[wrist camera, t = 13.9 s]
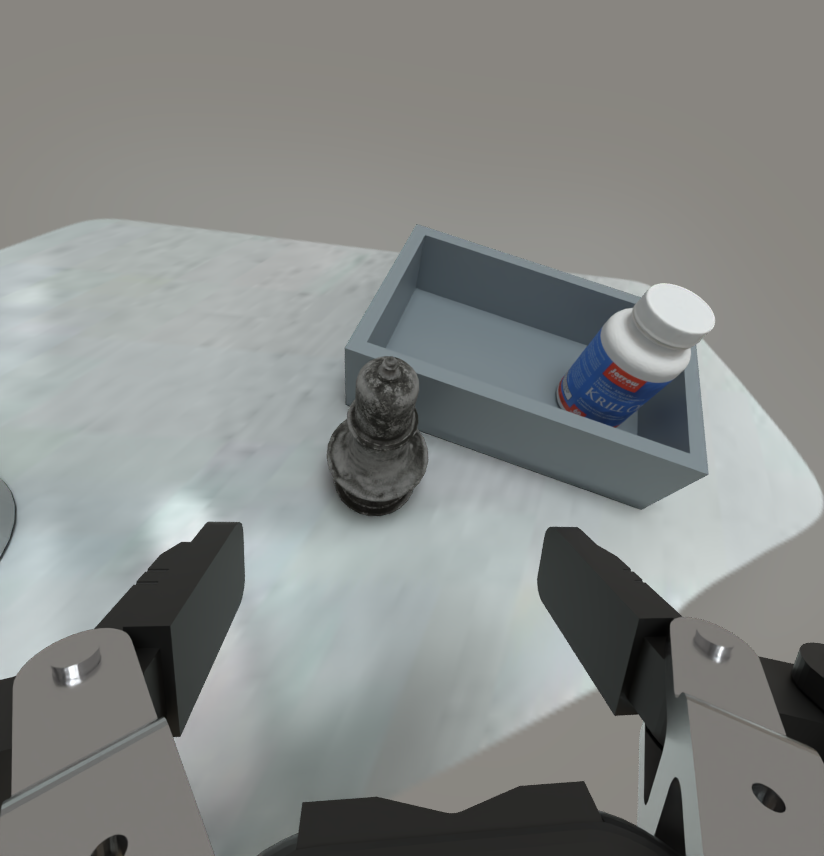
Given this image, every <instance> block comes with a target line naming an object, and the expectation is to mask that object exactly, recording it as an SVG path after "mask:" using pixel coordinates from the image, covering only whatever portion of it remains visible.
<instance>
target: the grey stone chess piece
mask: <svg viewBox="0 0 824 856" xmlns="http://www.w3.org/2000/svg"><path fill="white" fill-rule="evenodd" d="M418 393H419V379H418V376H417V374H416V372H415V371H414V369H413V368H412V367H411V366H410V365H409V364H408V363H406V362H405V361H403V360H401V359H400V358H396V357H393V356H383V357H378V358H376V359H373V360H371V361H369V362H368V363H366V364H365V365H364V366H363V367H362V368H361V370H360V372H359V374H358V376H357V379H356V391H355V400H354V401H353V402H352V404H351V405H350V408H349V410H348V414H347V419H346V420H345V421H344V422H342V423H341V424H340V425H339V426H338V427H337V429H336V430H335V431H334V433H333V434H332V436H331V439H330V441H329V444H328V450H327V461H328V465H329V470H330V472H331V474H332V475H333V477H334V482H335V486H336V491H337V493H338V495H339V496H340V498H341V500H342V501H343V502H344V503H345V504H346V505H347V506H348V507H349V508H351V509H352V510H354V511H356V512H358V513H360V514H364V515H368V516H382V515H386V514H390V513H392V512H394V511H396V510H398V509H399V508H401V507H402V506H403V505H404V504H405V503H406V502H407V501H408V499H409V497H410V496H411V494H412V492H413V489H414V488H415V487H416V486H417V485H418V484H419V482H420V481H421V479H422V477H423V476H424V474H425V472H426V468H427V463H428V448H427V446H426V443H425V440H424V437H423V436H422V434H421V433H420V431H419V430H418V429H417V427H418V413H417V410H416V408H415V404H416V401H417V397H418Z"/></svg>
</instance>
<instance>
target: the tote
mask: <svg viewBox="0 0 824 856" xmlns="http://www.w3.org/2000/svg"><path fill="white" fill-rule="evenodd" d="M640 298H641V297H638V296H635V295H632V294H629V293H626V292H623V291H620V290H617V289H614V288H611V287H608V286H605V285H602V284H599V283H596V282H593V281H589V280H586V279H583V278H580V277H577V276H574V275H571V274H568V273H565V272H562V271H559V270H556V269H553V268H550V267H547V266H543V265H541V264H537V263H534V262H531V261H528V260H525V259H522V258H519V257H516V256H513V255H510V254H506V253H504V252H501V251H497V250H495V249H492V248H489V247H485V246H482V245H479V244H476V243H473V242H470V241H467V240H464V239H461V238H458V237H455V236H452V235H449V234H446V233H443V232H440V231H437V230H434V229H431V228H428V227H424V226H421V225H418V224H416V226H415V228H414V230H413V231H412V233H411V235H410V237H409V238H408V240H407V242H406V243H405V245H404V247H403V249H402V250H401V252H400V254H399V255H398V257H397V259H396V261H395V262H394V264H393V266H392V267H391V269H390V271H389V273H388V274H387V276H386V278H385V280H384V281H383V283H382V285H381V286H380V288H379V290H378V292H377V293H376V295H375V297H374V298H373V300H372V302H371V304H370V305H369V307H368V309H367V311H366V312H365V314H364V316H363V317H362V319H361V321H360V323H359V324H358V326H357V328H356V329H355V331H354V333H353V335H352V336H351V338H350V340H349V342H348V343H347V345H346V347H345V391H346V405H349V406H350V405H351V404H352V402H353V401H354V400H355V391H356V379H357V376H358V374H359V372H360V370H361V368H362V367H363V366H364V365H365V364H366V363H368V362H369V361H371V360H373V359H376V358H378V357H383V356H393V357H396V358H400V359H401V360H403V361H405V362H406V363H408V364H409V365H410V366H411V367H412V368H413V369H414V371H415V372H416V374H417V376H418V379H419V393H418V397H417V401H416V404H415V408H416V410H417V413H418V427H417V429H418V430H419V431H422V432H425V433H428V434H430V435H433V436H436V437H439V438H442V439H444V440H447V441H450V442H453V443H456V444H458V445H461V446H464V447H467V448H470V449H472V450H475V451H478V452H481V453H484V454H487V455H489V456H492V457H495V458H498V459H501V460H503V461H506V462H509V463H512V464H515V465H517V466H520V467H523V468H526V469H529V470H532V471H534V472H537V473H540V474H543V475H546V476H548V477H551V478H554V479H557V480H560V481H562V482H565V483H568V484H571V485H574V486H577V487H579V488H582V489H585V490H588V491H591V492H593V493H596V494H599V495H602V496H605V497H607V498H610V499H613V500H616V501H619V502H622V503H624V504H627V505H630V506H633V507H636V508H638V509H641V510H642V509H643V508H645V507H647V506H649V505H651V504H653V503H655V502H657V501H659V500H661V499H663V498H665V497H666V496H668V495H670V494H672V493H674V492H676V491H678V490H680V489H682V488H684V487H686V486H687V485H689V484H691V483H693V482H695V481H697V480H699V479H701V478H703V477H705V476H707V475H708V464H707V453H706V443H705V432H704V422H703V411H702V401H701V390H700V380H699V370H698V359H697V349H696V345H695V346H693V347H691V357H690V361H689V363H688V365H687V367H686V368H685V369H684V371H682V372H681V373H680V374H679V375H678V376H677V377H676V378H675V379H674V380H672V381H671V382H670V383H669V384H668V385H666V386H665V387H664V388H663V389H662V390H660V391H659V392H658V393H657V394H656V395H655V396H653V397H652V398H651V399H650V400H649V401H647V402H646V403H645V404H644V405H643V406H641V407H640V408H639V409H638V410H637V411H636V412H634V413H633V414H632V415H631V416H630V417H629V418H627V419H626V420H625V421H624V422H623V423H621V424H620V425H619V426H617V427H616V428H614V427H611V426H608V425H606V424H603V423H600V422H597V421H594V420H591V419H588V418H585V417H582V416H579V415H577V414H574V413H571V412H568V411H565V410H562V409H561V408H560V406H559V404H558V401H557V387H558V385H559V383H560V381H561V379H562V378H563V377H564V375H565V374H566V373H567V371H568V370H569V369H570V368H571V366H572V365H573V364H574V362H575V361H576V360H577V359H578V357H579V356H580V355H581V353H582V352H583V351H584V350H585V348H586V347H587V346H588V344H589V343H590V342H591V341H592V339H593V338H594V337H595V336H596V334H597V333H598V332H599V330H600V329H601V328H602V327H603V325H604V324H605V323H606V322H607V321H608V319H609V318H610V317H611V316H612V315H614V314H615V313H617V312H619V311H621V310H624V309H628V308H633V307H634V305H635V304H636V303H637V302H638V301H639V300H640Z"/></svg>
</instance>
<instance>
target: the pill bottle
mask: <svg viewBox="0 0 824 856" xmlns="http://www.w3.org/2000/svg"><path fill="white" fill-rule="evenodd" d="M714 324H715V317H714V314H713V312H712V310H711V309H710V307H709V306H708V305H707V304H706V303H705V302H704V301H703V300H702V299H701V298H700V297H699V296H697V295H696V294H694V293H693V292H691V291H689V290H687V289H685V288H683V287H680V286H677V285H674V284H666V283H665V284H664V283H662V284H656V285H653V286H652V287H650V288H649V289H648V290H647V291H646V293H645V294H644V295H643V296H642V297H641V298H640V300H639V301H638V302H637V303H636V304H635V305H634V307H633V308H628V309H624V310H621V311H619V312H617V313H615V314H614V315H612V316H611V317H610V318H609V319H608V321H607V322H606V323H605V324H604V325H603V327H602V328H601V329H600V330H599V332H598V333H597V334H596V336H595V337H594V338H593V339H592V341H591V342H590V343H589V344H588V346H587V347H586V348H585V350H584V351H583V352H582V353H581V355H580V356H579V357H578V359H577V360H576V361H575V362H574V364H573V365H572V366H571V368H570V369H569V370H568V371H567V373H566V374H565V375H564V377H563V378H562V379H561V381H560V383H559V385H558V387H557V401H558V404H559V406H560V408H561V409H562V410H565V411H568V412H571V413H574V414H577V415H579V416H582V417H585V418H588V419H591V420H594V421H597V422H600V423H603V424H606V425H608V426H611V427H614V428H616V427H617V426H619V425H620V424H621V423H623V422H624V421H625V420H626V419H627V418H629V417H630V416H631V415H632V414H633V413H634V412H636V411H637V410H638V409H639V408H640V407H641V406H643V405H644V404H645V403H646V402H647V401H649V400H650V399H651V398H652V397H653V396H655V395H656V394H657V393H658V392H659V391H660V390H662V389H663V388H664V387H665V386H666V385H668V384H669V383H670V382H671V381H672V380H674V379H675V378H676V377H677V376H678V375H679V374H680V373H681V372H682V371H684V369H685V368H686V367H687V365H688V363H689V361H690V357H691V347H693V346H695V345H696V344H698V343H699V342H700V340H701V339H702V338H703V337H705V336H706V335H707V334H708V333H709V332H710V331H711V330H712V329H713V327H714Z"/></svg>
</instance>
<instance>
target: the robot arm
mask: <svg viewBox="0 0 824 856" xmlns="http://www.w3.org/2000/svg"><path fill="white" fill-rule="evenodd" d="M14 519H15V504H14V501H13V498H12V494H11V491H10V490H9V489H8V487H7V486H6V484H5V483H4V482H3V480H1V479H0V556H1V554H2V552H3V550H4V548H5V546H6V545H7V543H8V541H9V539H10V535H11V532H12V528H13V525H14ZM244 583H245V568H244V538H243V527H242V524H241V523H240V522H207V523H206V524H205V525H204V527H203V528H202V529H201V530H200V531H199V533H198V534H197V535H196V536H195V538H194V539H193V540H192V541H191V542H181V543H179V544H177V545H176V546H174V547H172V548H171V549H169V550H167V551H166V552H164V553H162V554H161V555H160V556H159V557H158V558H157V559H156V560H155V562H154V563H153V564H152V565H151V566H150V567H149V568H148V571H147V572H145V573H144V574H143V575H142V576H141V577H140V578H139V579H138V581H137V583H136V585H133V586H132V587H131V588H130V589H129V591H128V592H127V593H126V594H125V595H124V596H123V597H122V598H121V600H120V601H119V602H118V603H117V604H116V605H115V606H114V607H113V608H112V610H111V611H110V612H109V613H108V614H107V615H106V616H105V617H104V619H103V620H102V621H101V622H100V623H99V624H98V625H97V626H96V627H95V629H92V630H87V631H83V632H80V633H77V634H74V635H71V636H68V637H66V638H63V639H61V640H59V641H57V642H55V643H53V644H51V645H50V646H48V647H46V648H45V649H43V650H42V651H40V652H39V653H37V654H36V655H35V656H34V657H32V658H31V659H30V660H29V661H28V662H27V663H26V664H25V665H24V666H23V667H22V668H21V670H20V671H19V672H18V674H17V676H14V677H11V678H7V679H3V680H0V856H215V855H214V852H213V849H212V846H211V844H210V841H209V838H208V835H207V832H206V830H205V827H204V824H203V821H202V818H201V815H200V813H199V810H198V807H197V804H196V801H195V798H194V796H193V793H192V790H191V787H190V784H189V781H188V779H187V776H186V773H185V770H184V767H183V764H182V762H181V759H180V756H179V753H178V750H177V747H176V745H175V742H174V739H173V737H180V736H181V734H182V732H183V730H184V727H185V725H186V723H187V721H188V718H189V716H190V714H191V712H192V710H193V707H194V705H195V703H196V701H197V699H198V696H199V694H200V692H201V690H202V687H203V685H204V683H205V681H206V679H207V676H208V674H209V672H210V670H211V668H212V665H213V663H214V661H215V659H216V656H217V654H218V652H219V650H220V648H221V645H222V643H223V641H224V639H225V637H226V634H227V632H228V630H229V628H230V625H231V623H232V621H233V619H234V617H235V614H236V612H237V610H238V608H239V605H240V603H241V600H242V596H243V591H244ZM537 585H538V592H539V596H540V598H541V601H542V602H543V604H544V606H545V607H546V609H547V610H548V612H549V613H550V615H551V617H552V618H553V620H554V621H555V623H556V624H557V626H558V628H559V629H560V631H561V632H562V634H563V635H564V637H565V639H566V640H567V642H568V643H569V645H570V646H571V648H572V650H573V651H574V653H575V654H576V656H577V657H578V659H579V661H580V662H581V664H582V665H583V667H584V668H585V670H586V672H587V673H588V675H589V676H590V678H591V679H592V681H593V682H594V684H595V686H596V687H597V689H598V690H599V692H600V693H601V695H602V697H603V698H604V699H605V701H606V703H607V704H608V706H609V708H610V709H611V711H612V712H613V714H614V715H615V716H617V715H636V714H639V715H640V717H641V718H642V720H643V724H642V728H641V732H640V745H639V781H638V818H637V826H636V825H634V824H632V823H630V822H628V821H626V820H624V819H622V818H619V817H616V816H614V815H611V814H608V813H605V812H602V811H598V809H597V808H596V805H595V803H594V801H593V799H592V797H591V795H590V793H589V791H588V788H587V786H586V784H585V782H584V781H580V782H567V783H554V784H541V785H528V786H519V787H517V788H514V789H512V790H509V791H508V792H505V793H503V794H500V795H498V796H496V797H494V798H491V799H489V800H487V801H484V802H482V803H480V804H477V805H475V806H473V807H471V808H468V809H466V810H464V811H462V812H458V813H444V812H440V811H436V810H432V809H427V808H423V807H418V806H414V805H410V804H406V803H401V802H397V801H393V800H388V799H384V798H380V797H368V798H355V799H341V800H328V801H315V802H303V803H302V811H301V818H300V826H299V833H297V834H295V835H293V836H290V837H288V838H286V839H284V840H282V841H280V842H278V843H276V844H275V845H273V846H271V847H269V848H268V849H266V850H264V851H263V852H261V853H260V854H258V855H257V856H824V644H820V643H806V644H803V645H802V646H801V647H800V650H799V652H798V655H797V658H796V660H795V663H794V664H791V663H786V662H781V661H777V660H772V659H768V658H763V657H758V656H757V654H756V653H755V651H754V650H753V649H752V648H751V647H750V646H749V645H748V644H747V643H746V642H744V641H743V640H742V639H740V638H739V637H738V636H736V635H735V634H733V633H731V632H730V631H728V630H726V629H724V628H722V627H720V626H718V625H716V624H713V623H711V622H708V621H705V620H702V619H697V618H692V617H682V616H681V615H680V614H679V613H678V612H677V611H676V610H675V609H674V608H672V607H671V606H670V605H669V604H668V603H667V602H666V601H665V600H664V599H663V598H662V597H660V596H659V595H658V594H657V593H656V592H655V591H654V590H653V589H652V588H651V587H650V586H649V585H647V584H646V583H643V582H642V579H641V578H640V577H639V576H638V575H637V574H635V573H634V572H631V569H630V568H629V567H628V566H627V565H626V564H625V563H624V562H622V561H621V560H620V559H619V558H618V557H617V556H615V555H614V554H612V553H610V552H608V551H607V550H605V549H603V548H601V547H600V546H598V545H597V544H595V543H594V542H593V541H592V540H591V539H590V538H589V537H588V536H587V535H586V534H585V533H584V532H583V531H582V530H581V529H579V528H578V527H549V528H548V529H547V531H546V533H545V537H544V542H543V548H542V554H541V560H540V565H539V571H538V578H537Z"/></svg>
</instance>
